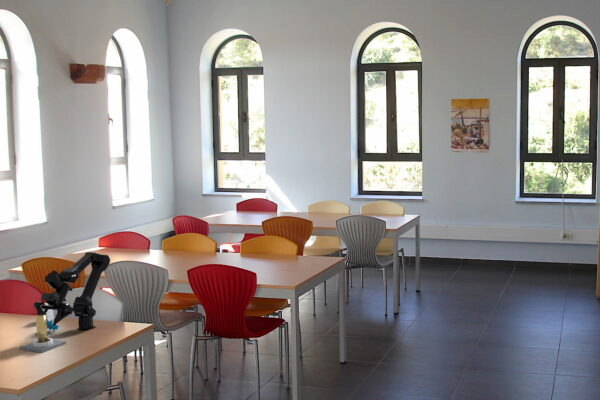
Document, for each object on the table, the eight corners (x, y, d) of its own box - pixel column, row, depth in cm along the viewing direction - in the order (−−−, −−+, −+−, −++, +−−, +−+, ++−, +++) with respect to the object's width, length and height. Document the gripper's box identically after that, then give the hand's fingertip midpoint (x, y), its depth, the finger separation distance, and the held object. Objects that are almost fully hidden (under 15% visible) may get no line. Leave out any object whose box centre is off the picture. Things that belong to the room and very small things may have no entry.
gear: (63, 327, 372) (49, 316, 366) (58, 338, 369) (44, 327, 362) (47, 328, 378) (33, 318, 371) (42, 339, 374) (28, 329, 368)
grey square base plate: (44, 340, 356) (43, 335, 356) (66, 343, 350) (65, 337, 349) (19, 349, 344) (19, 343, 344) (42, 352, 337) (41, 346, 337)
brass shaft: (46, 341, 350) (44, 313, 349) (49, 344, 346) (47, 315, 345) (36, 343, 347) (34, 315, 346) (39, 346, 344) (37, 317, 342)
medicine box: (46, 319, 397) (44, 302, 396) (54, 319, 396) (52, 302, 396) (38, 323, 389) (37, 306, 388) (47, 323, 389) (45, 306, 388)
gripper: (34, 284, 355) (18, 314, 346) (66, 285, 348) (52, 316, 339) (47, 297, 363) (33, 326, 354) (79, 298, 356) (65, 328, 347)
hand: (45, 324), depth 348 cm, fingers open, 9 cm apart
